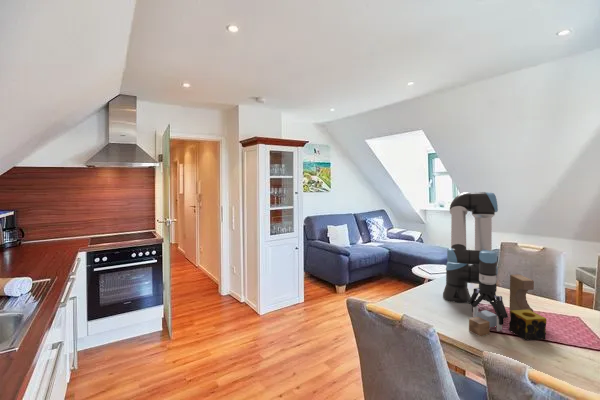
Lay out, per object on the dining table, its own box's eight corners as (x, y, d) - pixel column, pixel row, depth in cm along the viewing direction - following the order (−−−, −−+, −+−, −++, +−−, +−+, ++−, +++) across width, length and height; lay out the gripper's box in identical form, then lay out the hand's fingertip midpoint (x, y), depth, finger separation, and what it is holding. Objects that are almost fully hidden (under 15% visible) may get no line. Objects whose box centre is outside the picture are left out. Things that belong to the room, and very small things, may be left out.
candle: (508, 330, 150) (508, 310, 149) (528, 329, 151) (528, 308, 150) (525, 341, 140) (525, 319, 139) (546, 339, 141) (547, 318, 140)
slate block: (477, 323, 158) (477, 312, 157) (485, 321, 160) (486, 310, 159) (487, 328, 152) (488, 316, 152) (496, 326, 154) (497, 314, 154)
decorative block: (533, 318, 161) (534, 280, 160) (522, 318, 161) (522, 280, 160) (519, 309, 172) (520, 274, 171) (508, 309, 172) (509, 274, 171)
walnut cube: (468, 330, 150) (469, 318, 150) (478, 328, 152) (478, 316, 152) (479, 336, 145) (480, 324, 144) (489, 334, 147) (489, 321, 146)
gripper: (461, 276, 165) (460, 316, 166) (506, 291, 142) (505, 337, 143) (472, 274, 167) (471, 313, 168) (517, 289, 144) (516, 334, 145)
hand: (486, 324), depth 156 cm, fingers open, 12 cm apart
